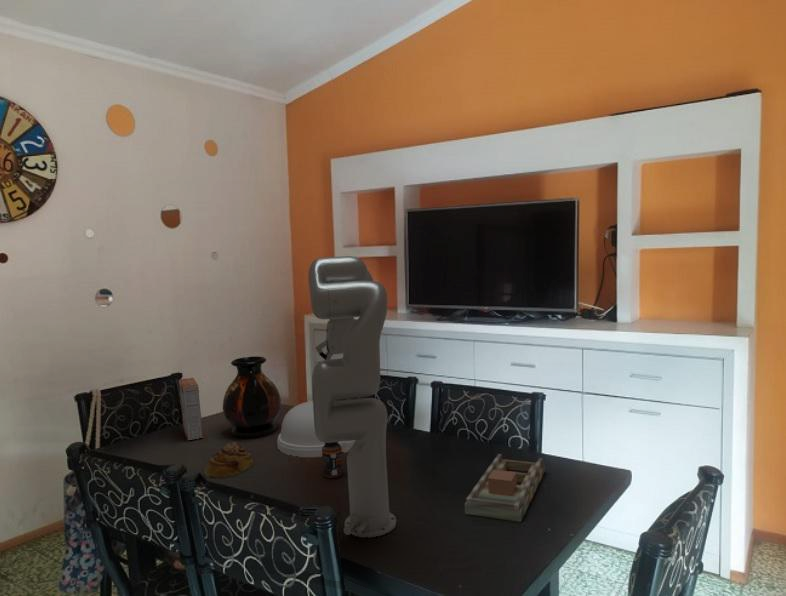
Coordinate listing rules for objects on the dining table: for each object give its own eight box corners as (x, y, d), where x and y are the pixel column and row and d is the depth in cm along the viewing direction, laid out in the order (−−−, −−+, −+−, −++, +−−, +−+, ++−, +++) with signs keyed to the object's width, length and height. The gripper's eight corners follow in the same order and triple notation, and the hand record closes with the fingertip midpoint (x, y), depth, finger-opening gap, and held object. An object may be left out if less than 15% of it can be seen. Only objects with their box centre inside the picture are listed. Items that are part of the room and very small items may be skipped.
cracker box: (182, 432, 228) (178, 379, 226) (199, 429, 231) (194, 376, 229) (186, 442, 215) (181, 386, 214) (203, 439, 218) (198, 383, 216)
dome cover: (260, 443, 210) (257, 405, 209) (330, 423, 230) (327, 388, 228) (308, 466, 186) (305, 422, 185) (381, 441, 205) (379, 402, 204)
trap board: (520, 521, 141) (520, 505, 141) (465, 513, 147) (464, 498, 147) (544, 471, 170) (544, 458, 170) (497, 466, 176) (496, 453, 176)
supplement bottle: (340, 479, 173) (337, 442, 172) (320, 478, 175) (318, 441, 173) (345, 471, 179) (343, 435, 178) (327, 471, 180) (324, 435, 179)
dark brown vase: (224, 427, 230) (218, 357, 228) (279, 420, 237) (274, 351, 234) (225, 445, 210) (219, 368, 207) (286, 436, 216) (280, 361, 214)
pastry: (261, 463, 191) (259, 439, 190) (230, 481, 177) (228, 455, 176) (228, 458, 196) (226, 435, 196) (196, 476, 183) (194, 451, 182)
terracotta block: (511, 496, 150) (511, 480, 150) (488, 493, 153) (488, 478, 152) (516, 486, 155) (516, 472, 155) (494, 483, 158) (494, 469, 158)
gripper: (316, 319, 174) (320, 376, 176) (371, 314, 180) (375, 369, 182) (311, 317, 181) (314, 372, 183) (364, 312, 187) (367, 365, 189)
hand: (345, 370), depth 182 cm, fingers open, 9 cm apart
